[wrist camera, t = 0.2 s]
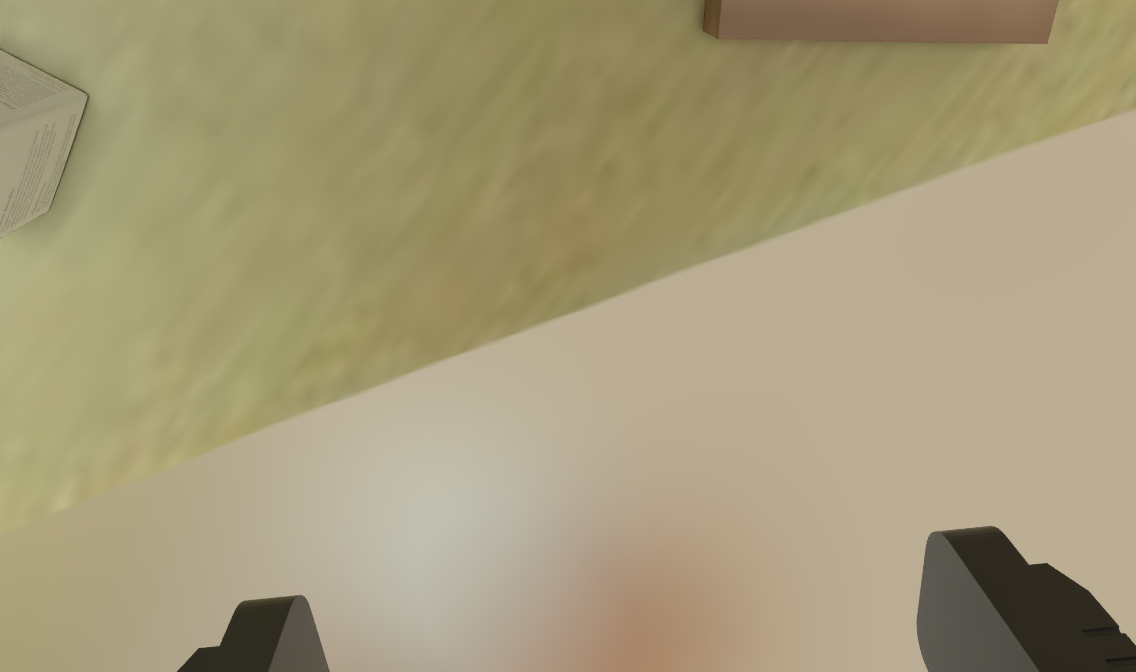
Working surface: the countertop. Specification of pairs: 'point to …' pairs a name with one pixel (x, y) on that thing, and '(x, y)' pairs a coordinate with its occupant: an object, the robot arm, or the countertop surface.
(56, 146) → the skincare box
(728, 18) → the wooden switch plate
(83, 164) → the countertop surface
